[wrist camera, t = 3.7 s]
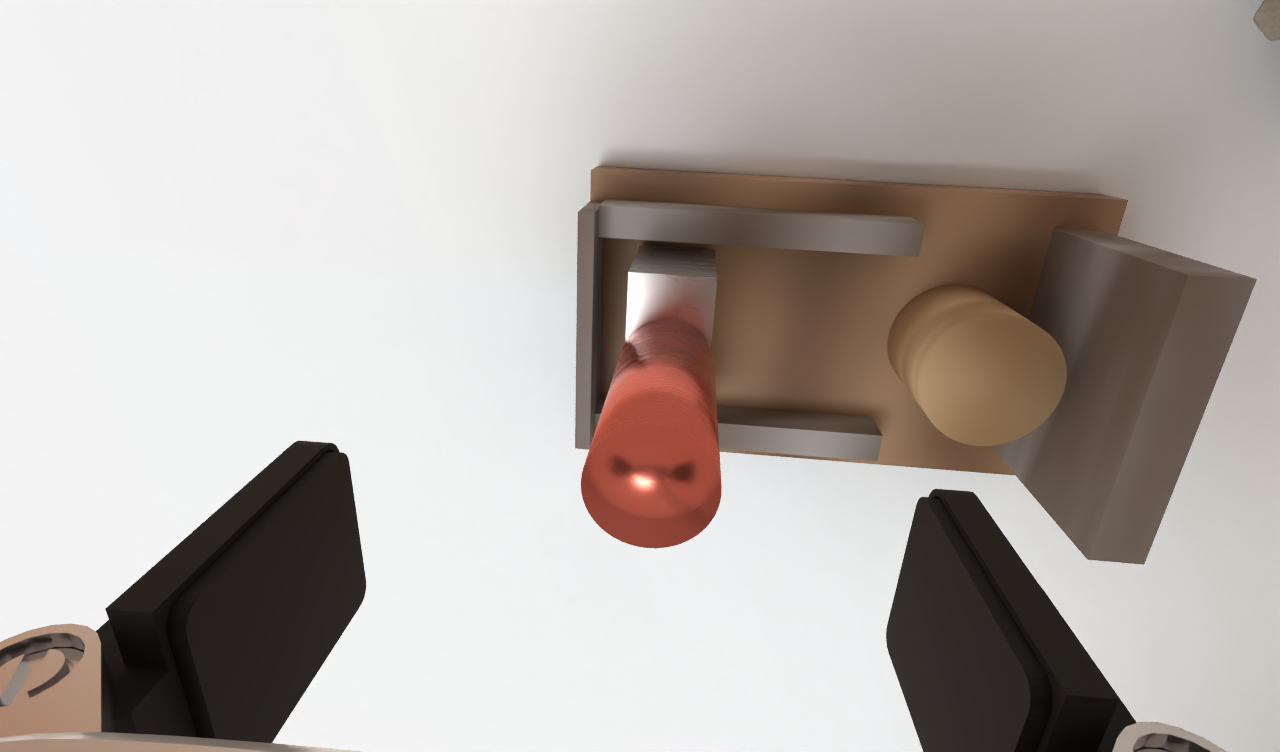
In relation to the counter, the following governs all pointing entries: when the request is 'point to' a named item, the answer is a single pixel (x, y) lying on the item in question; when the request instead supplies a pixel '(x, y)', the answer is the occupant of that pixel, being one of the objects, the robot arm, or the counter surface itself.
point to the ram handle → (660, 407)
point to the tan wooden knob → (976, 365)
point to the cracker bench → (877, 291)
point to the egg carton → (1269, 19)
